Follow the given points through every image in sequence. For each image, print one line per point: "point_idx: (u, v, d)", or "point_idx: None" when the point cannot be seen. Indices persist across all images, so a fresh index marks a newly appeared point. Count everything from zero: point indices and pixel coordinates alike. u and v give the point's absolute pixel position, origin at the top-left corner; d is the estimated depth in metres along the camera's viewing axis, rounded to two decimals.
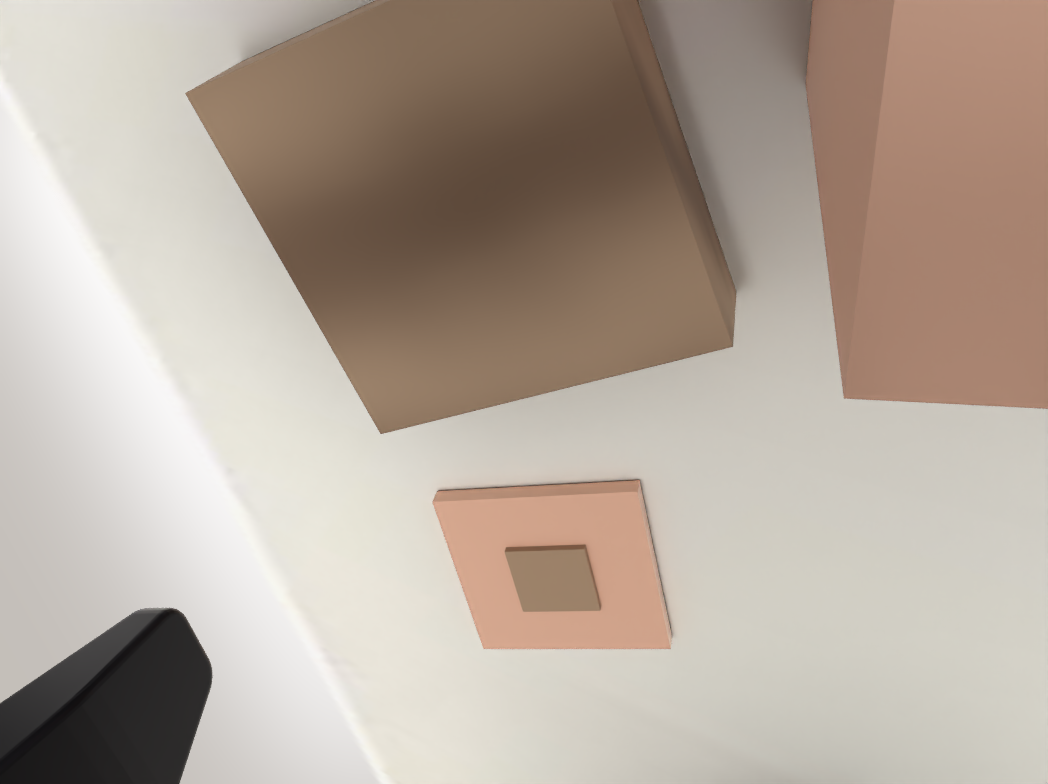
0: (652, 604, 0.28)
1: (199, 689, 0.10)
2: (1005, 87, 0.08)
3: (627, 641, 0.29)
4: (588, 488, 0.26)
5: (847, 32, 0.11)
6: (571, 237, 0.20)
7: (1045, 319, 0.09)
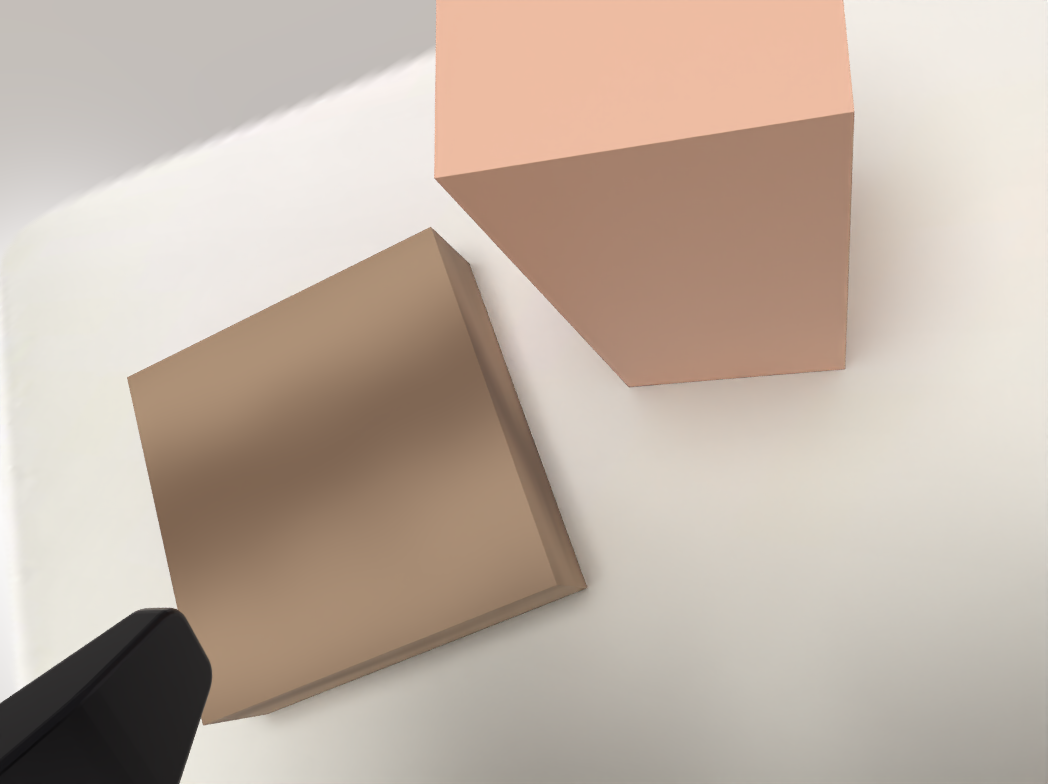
0: None
1: (199, 689, 0.10)
2: None
3: None
4: None
5: None
6: (409, 478, 0.21)
7: (563, 83, 0.12)
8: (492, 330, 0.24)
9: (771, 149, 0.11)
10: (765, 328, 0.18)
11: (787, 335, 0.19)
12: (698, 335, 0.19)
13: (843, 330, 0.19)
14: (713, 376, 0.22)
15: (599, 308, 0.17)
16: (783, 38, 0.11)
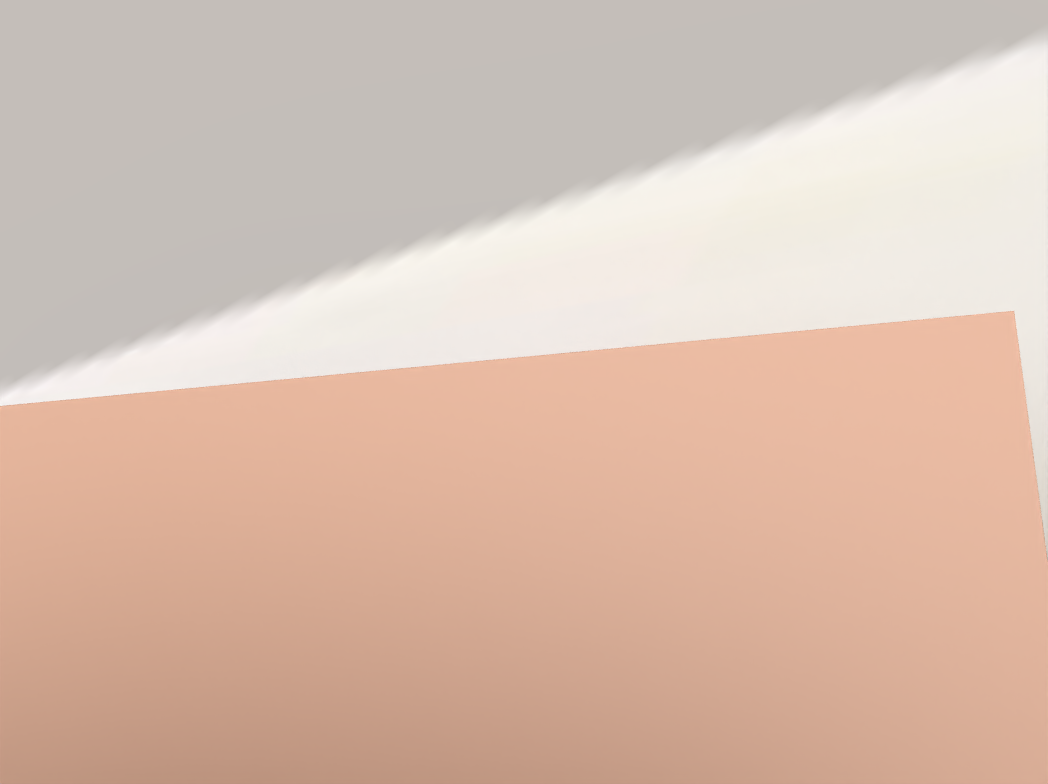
0: None
1: None
2: None
3: None
4: None
5: None
6: None
7: None
8: None
9: None
10: None
11: None
12: None
13: None
14: None
15: None
16: None
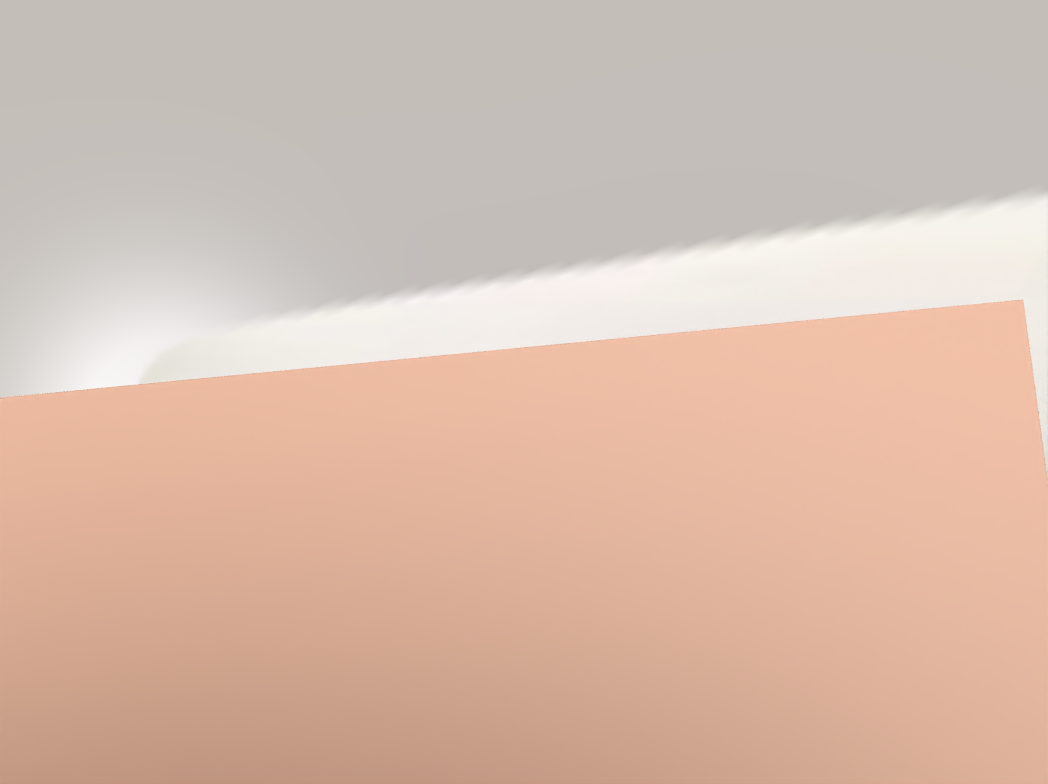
0: None
1: None
2: None
3: None
4: None
5: None
6: None
7: None
8: None
9: None
10: None
11: None
12: None
13: None
14: None
15: None
16: None
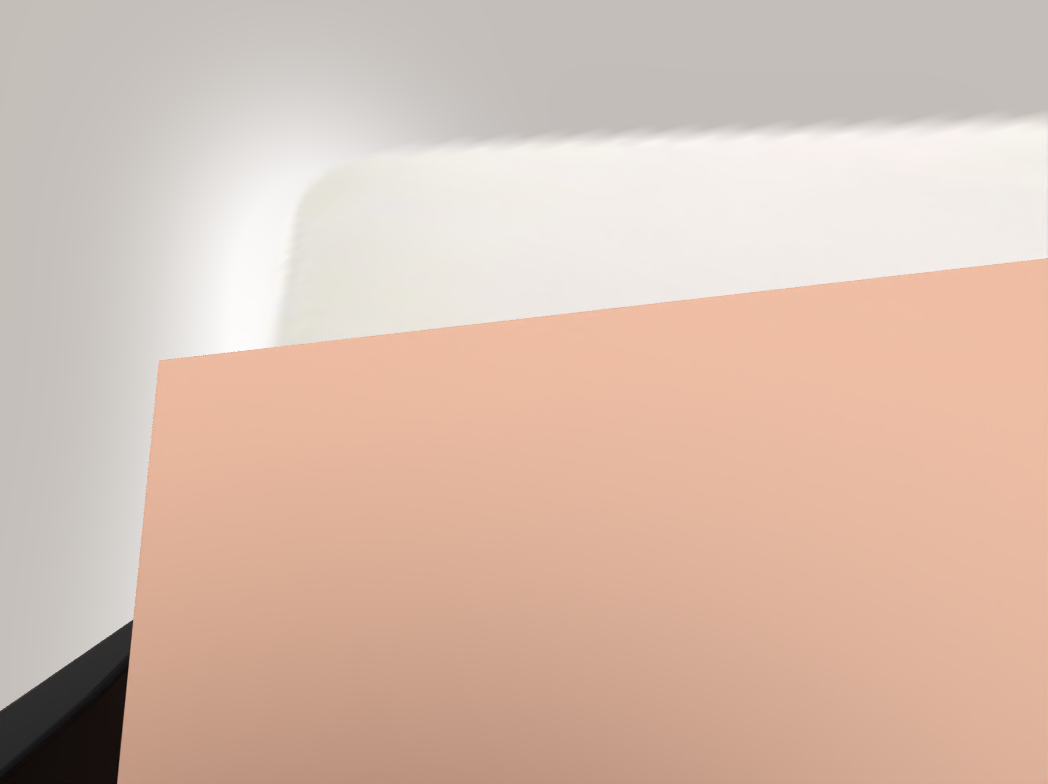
0: None
1: None
2: (283, 678, 0.05)
3: None
4: None
5: None
6: None
7: None
8: None
9: None
10: None
11: None
12: None
13: None
14: None
15: None
16: None
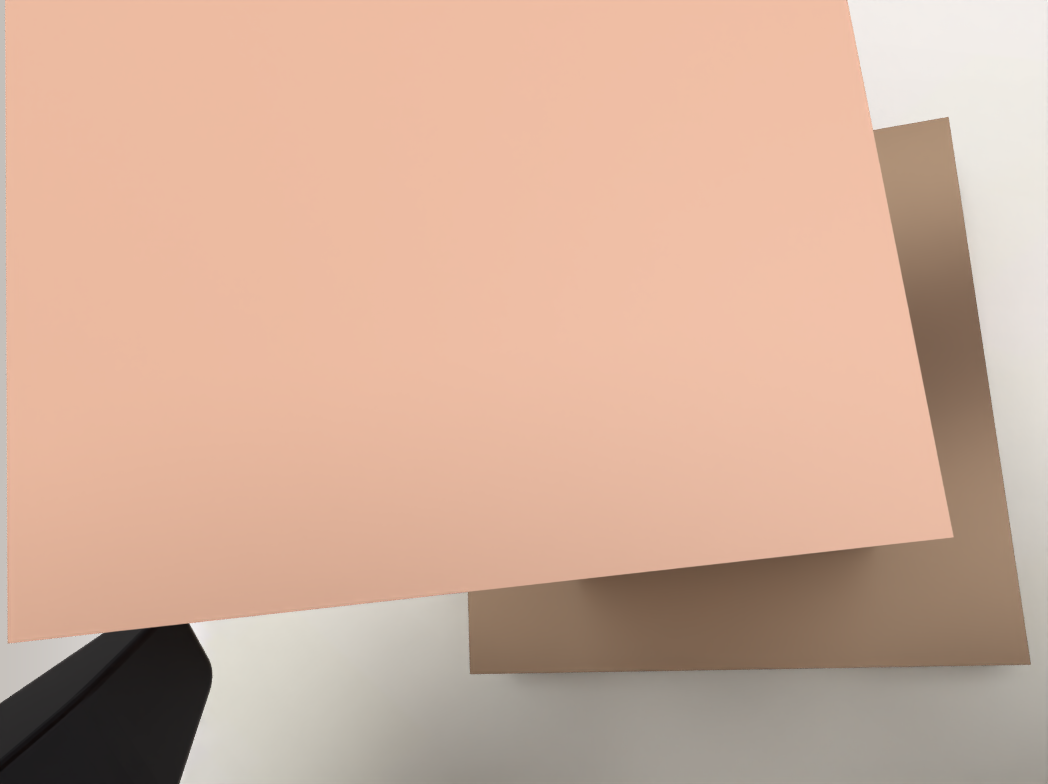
0: None
1: (199, 689, 0.10)
2: (129, 93, 0.06)
3: None
4: None
5: None
6: None
7: (255, 425, 0.05)
8: None
9: None
10: None
11: None
12: None
13: None
14: None
15: None
16: (750, 323, 0.04)
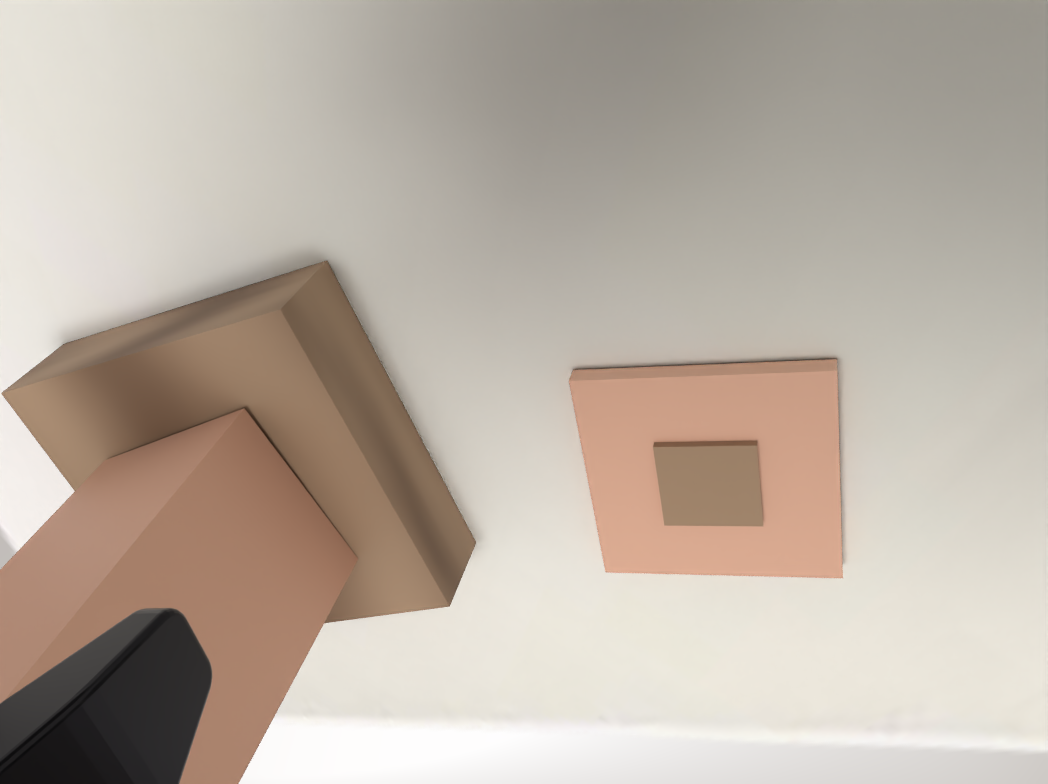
0: (751, 384, 0.21)
1: (199, 689, 0.10)
2: None
3: (824, 420, 0.21)
4: None
5: None
6: None
7: None
8: (116, 328, 0.25)
9: None
10: (198, 570, 0.20)
11: (204, 534, 0.20)
12: (237, 610, 0.20)
13: (173, 498, 0.20)
14: (307, 508, 0.23)
15: (225, 744, 0.19)
16: None
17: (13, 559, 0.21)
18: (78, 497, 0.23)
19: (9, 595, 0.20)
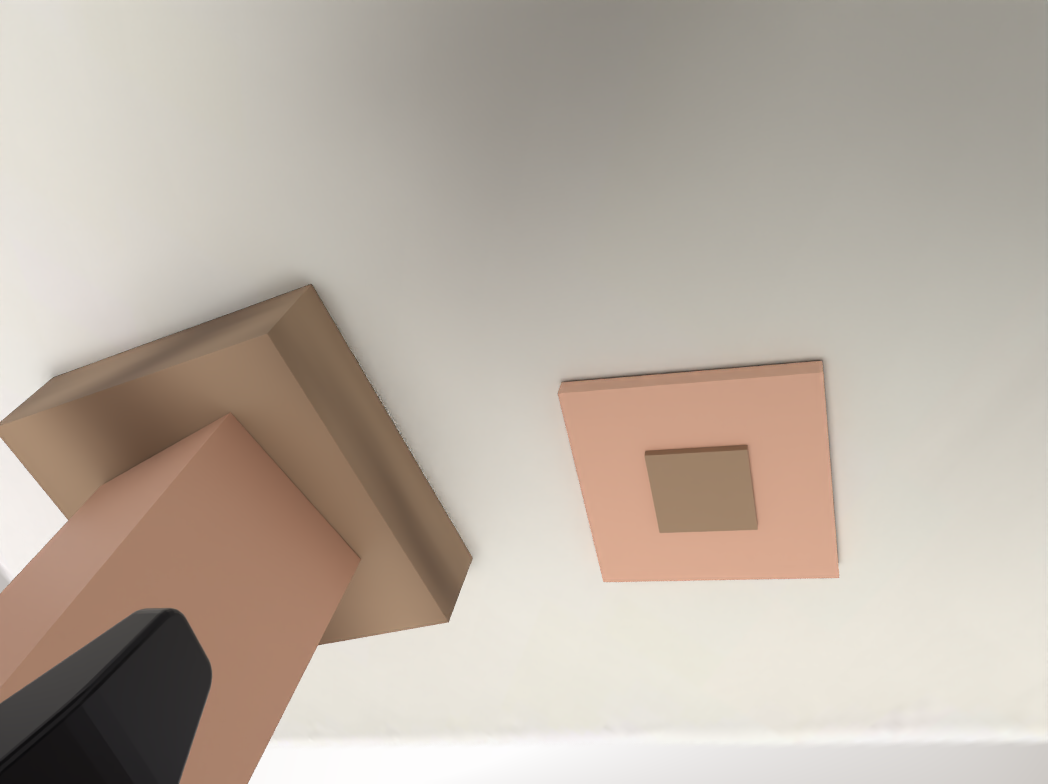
0: (738, 388, 0.21)
1: (199, 689, 0.10)
2: None
3: (812, 421, 0.21)
4: None
5: None
6: None
7: None
8: (106, 358, 0.26)
9: None
10: (191, 570, 0.20)
11: (195, 535, 0.20)
12: (235, 609, 0.20)
13: (161, 499, 0.20)
14: (303, 509, 0.23)
15: (231, 743, 0.19)
16: None
17: (11, 584, 0.21)
18: (74, 520, 0.23)
19: (4, 613, 0.19)
